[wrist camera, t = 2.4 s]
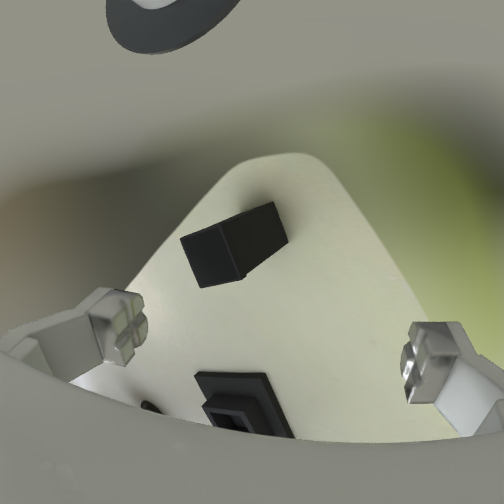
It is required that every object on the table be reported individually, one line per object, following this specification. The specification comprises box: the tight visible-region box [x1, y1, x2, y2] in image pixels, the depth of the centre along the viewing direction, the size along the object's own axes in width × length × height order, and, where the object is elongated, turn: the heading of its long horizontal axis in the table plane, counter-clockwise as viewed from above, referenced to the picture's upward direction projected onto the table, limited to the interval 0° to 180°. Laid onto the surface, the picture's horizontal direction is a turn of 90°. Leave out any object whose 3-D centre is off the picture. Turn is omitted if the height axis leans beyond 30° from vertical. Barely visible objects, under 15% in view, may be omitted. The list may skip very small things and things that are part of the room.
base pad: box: [194, 372, 295, 439], centre depth 41 cm, size 14×12×4 cm
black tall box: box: [180, 202, 288, 288], centre depth 28 cm, size 4×4×9 cm
